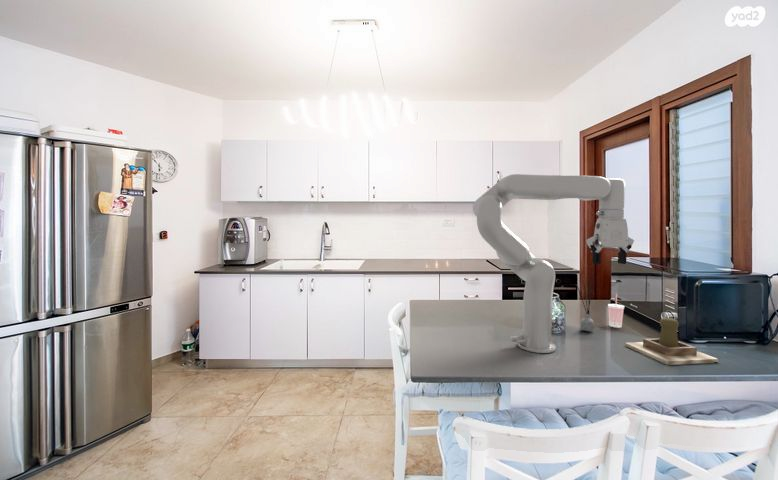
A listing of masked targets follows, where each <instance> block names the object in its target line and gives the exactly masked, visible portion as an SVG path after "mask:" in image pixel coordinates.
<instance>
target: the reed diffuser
mask: <svg viewBox="0 0 778 480" xmlns="http://www.w3.org/2000/svg"><path fill="white" fill-rule="evenodd" d="M587 284H588V285H587V286H588V291H589V299H588V298H587V289H586V282H585V281H584V285H583V286H584V292H585V294H584V295H585V302H586V305H585V302H584V301H583V300H584V299H583V297H582V294H581V292H580V287H579V285H578V284H576V286H577V290H578V293H579V295H580V298H581V301H582V304H583V307H584V310H585V313H584V317H582V318H581V320H580V330H582V331H585V332H593V331H594V330H595V322H594V320H593V319H592V318H591V313H590V304H591V297H592V296H591V295H592V288H593V286H592V285H591V286H590V283H587ZM587 299H588V300H587Z"/></svg>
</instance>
